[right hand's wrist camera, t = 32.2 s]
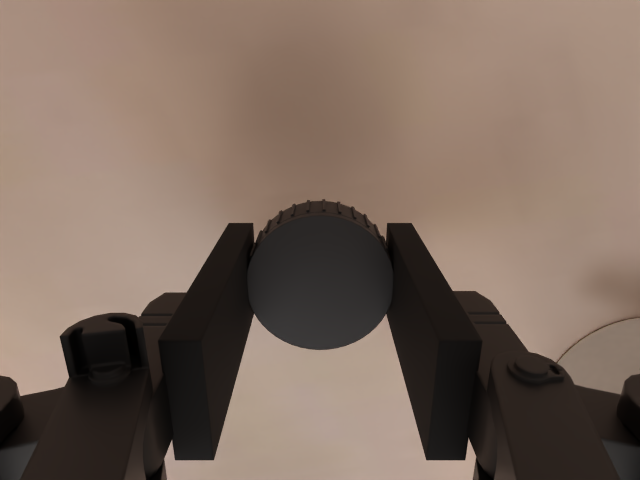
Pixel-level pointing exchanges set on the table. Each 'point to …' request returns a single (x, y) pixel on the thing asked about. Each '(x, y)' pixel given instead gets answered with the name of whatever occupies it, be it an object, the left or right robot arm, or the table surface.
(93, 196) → the table surface
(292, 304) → the cap
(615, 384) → the bottle
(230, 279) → the right robot arm
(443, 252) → the table surface
